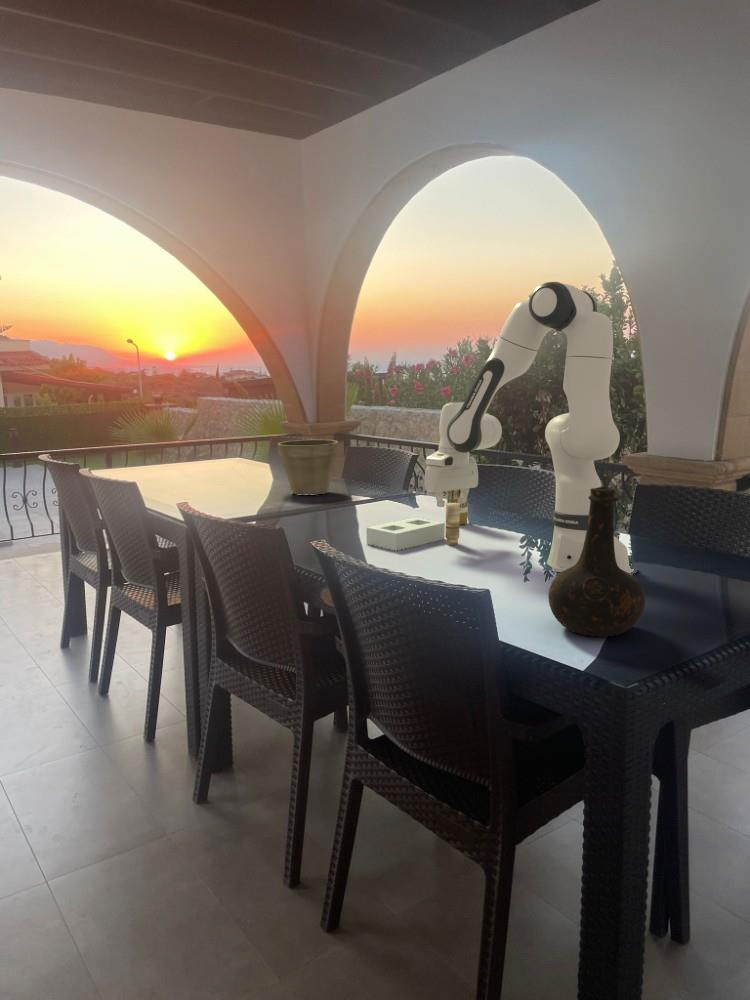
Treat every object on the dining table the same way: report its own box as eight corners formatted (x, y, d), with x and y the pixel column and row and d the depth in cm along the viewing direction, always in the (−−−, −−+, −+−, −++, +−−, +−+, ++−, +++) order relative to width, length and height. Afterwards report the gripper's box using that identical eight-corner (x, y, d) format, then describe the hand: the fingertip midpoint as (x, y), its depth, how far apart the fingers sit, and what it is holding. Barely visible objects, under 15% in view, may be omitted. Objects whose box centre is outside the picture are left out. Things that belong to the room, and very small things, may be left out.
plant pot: (271, 497, 295) (269, 444, 292) (288, 488, 319) (287, 438, 316) (331, 499, 291) (330, 444, 288) (344, 489, 315) (343, 439, 312)
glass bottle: (541, 639, 137) (546, 492, 132) (553, 610, 153) (558, 479, 149) (642, 651, 131) (651, 498, 126) (644, 620, 147) (652, 483, 142)
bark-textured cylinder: (466, 525, 239) (467, 449, 234) (445, 525, 240) (446, 449, 236) (468, 521, 245) (469, 447, 241) (447, 521, 246) (448, 447, 242)
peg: (462, 544, 213) (462, 503, 211) (453, 546, 211) (453, 505, 208) (451, 541, 216) (451, 502, 214) (442, 544, 213) (442, 503, 211)
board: (444, 539, 220) (444, 522, 219) (396, 551, 206) (395, 533, 205) (415, 533, 228) (415, 517, 228) (366, 544, 214) (366, 527, 213)
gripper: (467, 454, 219) (465, 500, 221) (421, 458, 205) (419, 507, 207) (484, 456, 214) (482, 503, 217) (438, 460, 200) (436, 510, 202)
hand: (451, 505), depth 212 cm, fingers open, 8 cm apart
